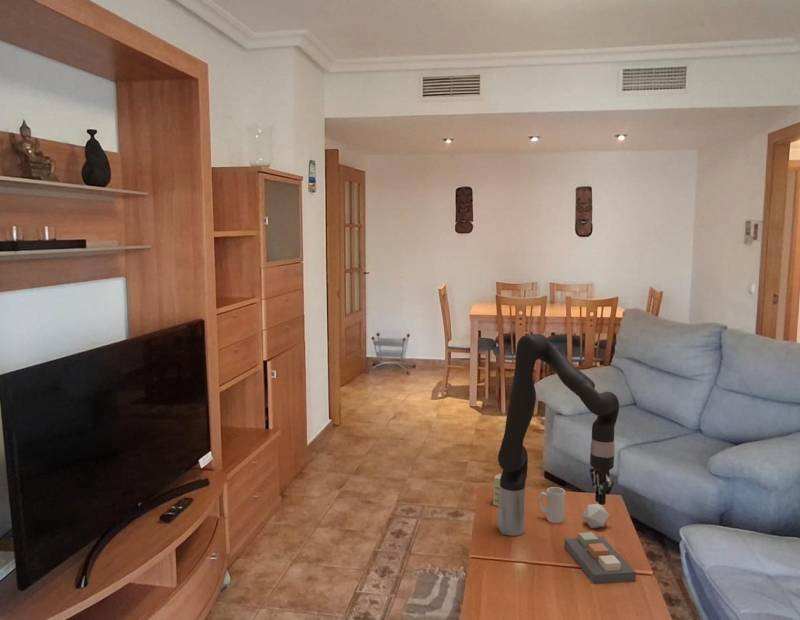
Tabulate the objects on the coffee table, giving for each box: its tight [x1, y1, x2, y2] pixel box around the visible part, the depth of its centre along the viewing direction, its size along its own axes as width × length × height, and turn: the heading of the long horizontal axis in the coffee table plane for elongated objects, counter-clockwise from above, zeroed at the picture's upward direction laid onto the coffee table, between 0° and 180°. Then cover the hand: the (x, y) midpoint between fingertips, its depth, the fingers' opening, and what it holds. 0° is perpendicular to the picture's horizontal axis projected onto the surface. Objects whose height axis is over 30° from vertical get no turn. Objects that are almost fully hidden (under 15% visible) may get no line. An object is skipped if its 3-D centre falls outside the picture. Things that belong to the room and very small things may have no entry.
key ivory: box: [598, 555, 621, 572], centre depth 197 cm, size 5×5×4 cm
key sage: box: [578, 531, 598, 547], centre depth 212 cm, size 5×5×4 cm
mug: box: [537, 486, 566, 524], centre depth 236 cm, size 10×7×12 cm, turn 80°
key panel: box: [563, 535, 637, 585], centre depth 205 cm, size 14×24×3 cm, turn 7°
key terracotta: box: [588, 543, 609, 559], centre depth 204 cm, size 5×5×4 cm
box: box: [492, 473, 502, 507], centre depth 250 cm, size 10×6×12 cm, turn 65°
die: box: [582, 503, 610, 529], centre depth 231 cm, size 8×9×10 cm
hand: (600, 502), depth 203 cm, fingers closed
